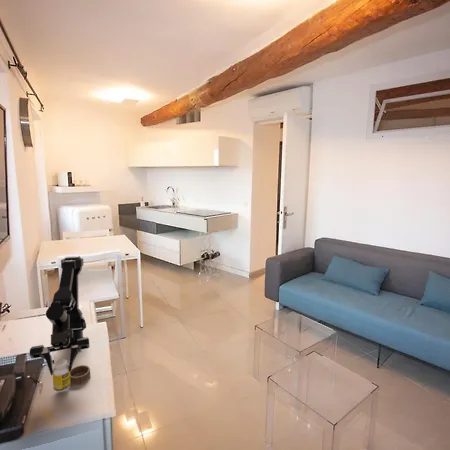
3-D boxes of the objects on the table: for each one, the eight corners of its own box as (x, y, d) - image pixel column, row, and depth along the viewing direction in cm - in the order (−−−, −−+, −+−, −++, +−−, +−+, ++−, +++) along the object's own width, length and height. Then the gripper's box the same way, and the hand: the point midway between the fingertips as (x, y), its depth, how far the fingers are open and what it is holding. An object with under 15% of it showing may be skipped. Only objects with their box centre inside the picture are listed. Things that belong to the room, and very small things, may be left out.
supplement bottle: (63, 393, 109) (62, 368, 107) (50, 391, 110) (48, 366, 108) (74, 383, 114) (72, 359, 112) (60, 380, 115) (59, 356, 113)
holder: (78, 370, 123) (77, 363, 123) (94, 374, 122) (93, 367, 121) (64, 382, 117) (64, 375, 116) (81, 386, 115) (80, 379, 114)
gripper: (27, 326, 107) (24, 375, 99) (87, 317, 114) (89, 362, 106) (33, 335, 116) (31, 380, 108) (88, 326, 123) (90, 368, 115)
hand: (60, 372), depth 109 cm, fingers closed on supplement bottle, 5 cm apart
